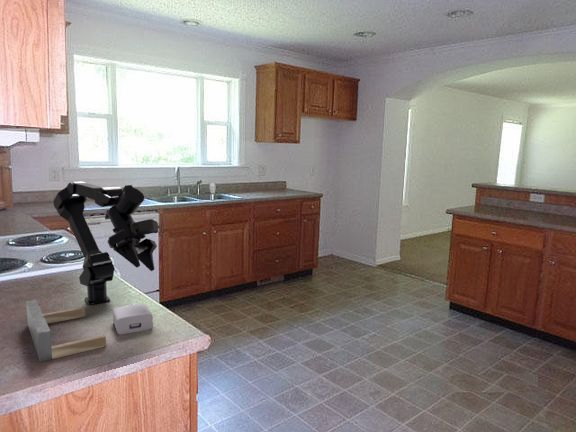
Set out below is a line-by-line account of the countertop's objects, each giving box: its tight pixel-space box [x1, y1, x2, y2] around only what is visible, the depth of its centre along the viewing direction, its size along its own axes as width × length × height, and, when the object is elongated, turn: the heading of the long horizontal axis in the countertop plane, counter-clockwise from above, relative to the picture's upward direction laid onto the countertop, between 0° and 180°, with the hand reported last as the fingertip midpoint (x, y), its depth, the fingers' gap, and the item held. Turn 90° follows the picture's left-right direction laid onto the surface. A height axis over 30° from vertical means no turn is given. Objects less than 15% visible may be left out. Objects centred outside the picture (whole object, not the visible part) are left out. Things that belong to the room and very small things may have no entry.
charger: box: [112, 303, 154, 335], centre depth 122 cm, size 5×9×15 cm
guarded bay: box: [25, 299, 107, 363], centre depth 112 cm, size 25×14×7 cm, turn 37°
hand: (145, 268), depth 121 cm, fingers open, 9 cm apart
